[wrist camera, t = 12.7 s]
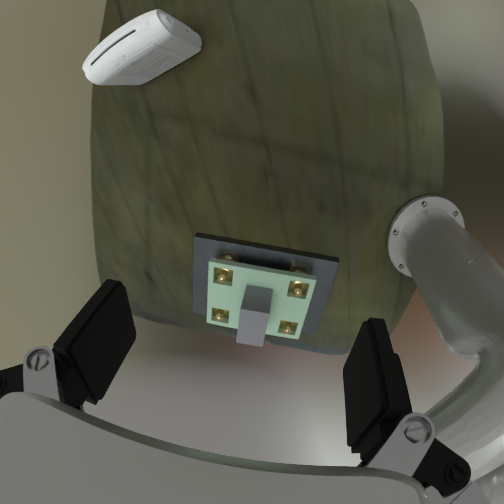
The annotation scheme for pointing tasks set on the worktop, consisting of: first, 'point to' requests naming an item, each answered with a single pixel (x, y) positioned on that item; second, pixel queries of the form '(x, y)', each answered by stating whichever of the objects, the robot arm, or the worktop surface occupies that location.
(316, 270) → the plate
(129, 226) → the worktop surface
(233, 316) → the board
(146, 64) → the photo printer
